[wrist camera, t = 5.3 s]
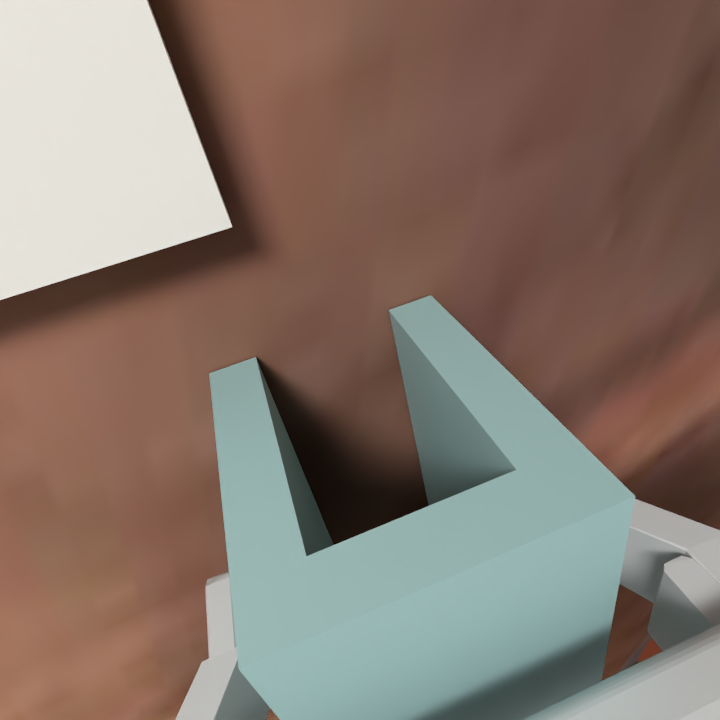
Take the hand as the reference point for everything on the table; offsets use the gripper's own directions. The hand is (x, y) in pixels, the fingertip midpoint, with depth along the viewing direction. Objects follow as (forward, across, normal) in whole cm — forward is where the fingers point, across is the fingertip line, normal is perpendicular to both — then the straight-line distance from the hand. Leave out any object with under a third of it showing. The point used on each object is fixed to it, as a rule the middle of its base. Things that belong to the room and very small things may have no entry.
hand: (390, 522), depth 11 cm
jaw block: (+2, 0, 0) cm, 2 cm away
